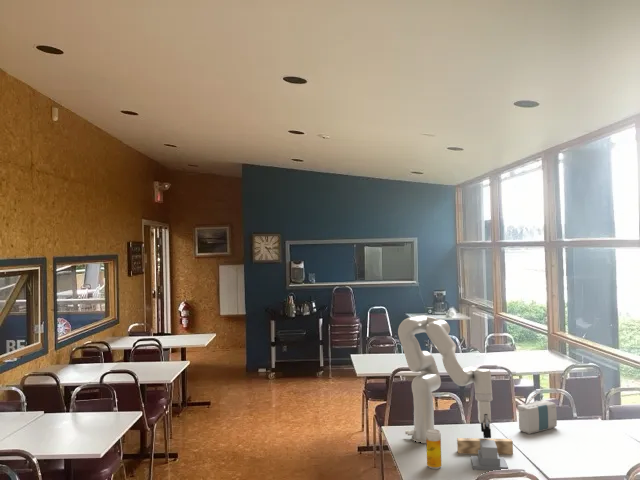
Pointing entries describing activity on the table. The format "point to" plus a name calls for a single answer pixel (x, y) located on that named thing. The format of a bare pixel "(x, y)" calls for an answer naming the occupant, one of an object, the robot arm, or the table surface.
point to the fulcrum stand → (488, 457)
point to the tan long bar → (474, 445)
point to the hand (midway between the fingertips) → (486, 434)
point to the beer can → (433, 448)
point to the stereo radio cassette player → (537, 416)
